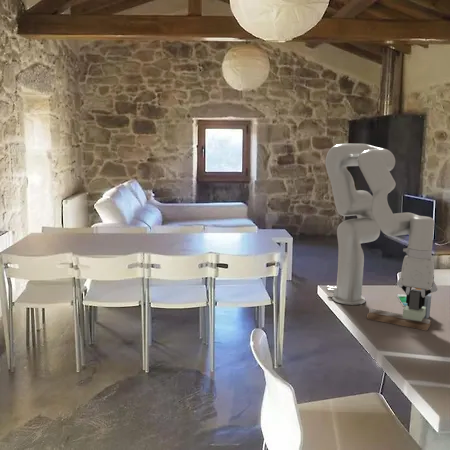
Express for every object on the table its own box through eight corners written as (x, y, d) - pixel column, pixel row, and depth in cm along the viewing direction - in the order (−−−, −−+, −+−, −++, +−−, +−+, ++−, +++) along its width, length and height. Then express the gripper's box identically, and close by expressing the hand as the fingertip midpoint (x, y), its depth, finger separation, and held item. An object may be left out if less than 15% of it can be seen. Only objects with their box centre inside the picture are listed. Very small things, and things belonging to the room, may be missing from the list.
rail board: (366, 318, 185) (367, 311, 184) (372, 313, 191) (372, 306, 190) (426, 330, 175) (427, 323, 174) (430, 324, 181) (431, 317, 180)
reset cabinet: (408, 317, 187) (410, 295, 185) (412, 312, 192) (413, 291, 190) (426, 320, 184) (428, 298, 182) (429, 315, 189) (431, 294, 187)
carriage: (402, 317, 178) (404, 292, 177) (407, 311, 184) (409, 286, 183) (421, 321, 175) (423, 295, 174) (425, 315, 181) (427, 289, 180)
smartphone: (414, 294, 212) (423, 307, 197) (413, 297, 212) (423, 309, 197) (395, 293, 212) (403, 305, 198) (395, 295, 213) (403, 307, 198)
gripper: (391, 252, 177) (387, 305, 180) (443, 259, 169) (438, 314, 172) (397, 248, 183) (393, 299, 186) (447, 254, 175) (442, 308, 178)
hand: (415, 306), depth 179 cm, fingers closed on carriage, 3 cm apart
